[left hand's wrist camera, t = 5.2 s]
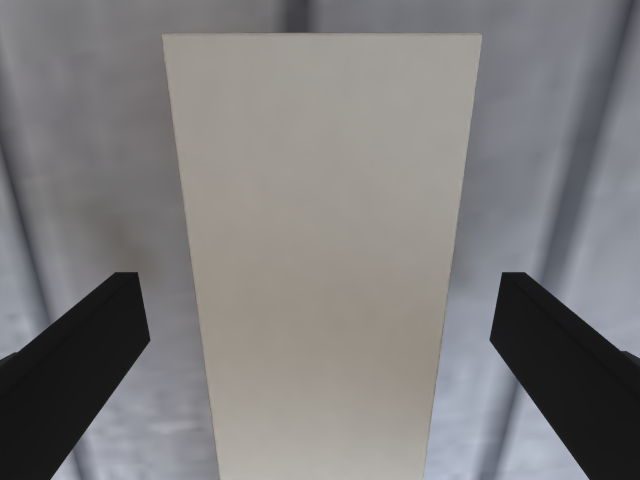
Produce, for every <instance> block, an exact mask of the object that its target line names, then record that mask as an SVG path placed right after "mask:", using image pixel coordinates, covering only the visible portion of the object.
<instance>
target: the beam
mask: <svg viewBox="0 0 640 480" xmlns="http://www.w3.org/2000/svg"><path fill="white" fill-rule="evenodd" d="M162 45H163V53H164V60H165V68H166V75H167V83H168V91H169V98H170V106H171V113H172V121H173V129H174V136H175V144H176V151H177V159H178V167H179V174H180V182H181V189H182V197H183V204H184V212H185V220H186V227H187V235H188V242H189V250H190V258H191V265H192V273H193V280H194V288H195V296H196V303H197V311H198V318H199V326H200V334H201V341H202V349H203V356H204V364H205V372H206V379H207V387H208V394H209V402H210V409H211V417H212V425H213V432H214V440H215V447H216V455H217V463H218V470H219V478H220V480H423V475H424V467H425V460H426V452H427V445H428V438H429V430H430V423H431V415H432V408H433V401H434V393H435V386H436V378H437V371H438V363H439V356H440V349H441V341H442V334H443V326H444V319H445V312H446V304H447V297H448V289H449V282H450V275H451V267H452V260H453V252H454V245H455V237H456V230H457V223H458V215H459V208H460V200H461V193H462V186H463V178H464V171H465V163H466V156H467V148H468V141H469V134H470V126H471V119H472V111H473V104H474V97H475V89H476V82H477V74H478V67H479V60H480V52H481V45H482V34H481V33H164V34H162Z"/></svg>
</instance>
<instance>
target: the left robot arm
mask: <svg viewBox="0 0 640 480" xmlns="http://www.w3.org/2000/svg"><path fill="white" fill-rule="evenodd" d="M149 342H150V335H149V330H148V325H147V319H146V314H145V309H144V303H143V298H142V293H141V287H140V282H139V277H138V272H115V273H114V274H113V275H111V276H110V277H109V278H108V279H107V280H105V281H104V282H103V283H102V284H100V285H99V286H98V287H97V288H96V289H94V290H93V291H92V292H91V293H90V294H88V295H87V296H86V297H85V298H83V299H82V300H81V301H80V302H79V303H77V304H76V305H75V306H74V307H72V308H71V309H70V310H69V311H68V312H66V313H65V314H64V315H63V316H62V317H60V318H59V319H58V320H57V321H55V322H54V323H53V324H52V325H51V326H49V327H48V328H47V329H46V330H44V331H43V332H42V333H41V334H40V335H38V336H37V337H36V338H35V339H34V340H32V341H31V342H30V343H29V344H27V345H26V346H25V347H24V348H23V349H21V350H20V351H19V352H14V353H12V354H11V355H9V356H7V357H5V358H3V359H1V360H0V480H51V478H52V477H53V475H54V474H55V473H56V471H57V470H58V468H59V467H60V466H61V464H62V463H63V461H64V460H65V459H66V457H67V456H68V454H69V453H70V452H71V450H72V449H73V448H74V446H75V445H76V443H77V442H78V441H79V439H80V438H81V436H82V435H83V434H84V432H85V431H86V429H87V428H88V427H89V425H90V424H91V422H92V421H93V420H94V418H95V417H96V415H97V414H98V413H99V411H100V410H101V409H102V407H103V406H104V404H105V403H106V402H107V400H108V399H109V397H110V396H111V395H112V393H113V392H114V390H115V389H116V388H117V386H118V385H119V383H120V382H121V381H122V379H123V378H124V376H125V375H126V374H127V372H128V371H129V370H130V368H131V367H132V365H133V364H134V363H135V361H136V360H137V358H138V357H139V356H140V354H141V353H142V351H143V350H144V349H145V347H146V346H147V344H148V343H149ZM490 342H491V343H492V344H493V346H494V347H495V349H496V350H497V351H498V353H499V354H500V356H501V357H502V358H503V360H504V361H505V363H506V364H507V365H508V367H509V368H510V370H511V371H512V372H513V374H514V375H515V376H516V378H517V379H518V381H519V382H520V383H521V385H522V386H523V388H524V389H525V390H526V392H527V393H528V395H529V396H530V397H531V399H532V400H533V402H534V403H535V404H536V406H537V407H538V408H539V410H540V411H541V413H542V414H543V415H544V417H545V418H546V420H547V421H548V422H549V424H550V425H551V427H552V428H553V429H554V431H555V432H556V434H557V435H558V436H559V438H560V439H561V441H562V442H563V443H564V445H565V446H566V447H567V449H568V450H569V452H570V453H571V454H572V456H573V457H574V459H575V460H576V461H577V463H578V464H579V466H580V467H581V468H582V470H583V471H584V473H585V474H586V475H587V477H588V478H589V480H640V358H638V357H636V356H634V355H632V354H631V353H629V352H627V351H620V350H619V349H617V348H616V347H615V346H614V345H613V344H611V343H610V342H609V341H608V340H606V339H605V338H604V337H603V336H602V335H600V334H599V333H598V332H597V331H596V330H594V329H593V328H592V327H591V326H589V325H588V324H587V323H586V322H585V321H583V320H582V319H581V318H580V317H578V316H577V315H576V314H575V313H574V312H572V311H571V310H570V309H569V308H568V307H566V306H565V305H564V304H563V303H561V302H560V301H559V300H558V299H557V298H555V297H554V296H553V295H552V294H550V293H549V292H548V291H547V290H546V289H544V288H543V287H542V286H541V285H540V284H538V283H537V282H536V281H535V280H533V279H532V278H531V277H530V276H529V275H527V274H526V273H525V272H502V277H501V282H500V287H499V293H498V298H497V303H496V309H495V314H494V319H493V325H492V330H491V335H490Z"/></svg>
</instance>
